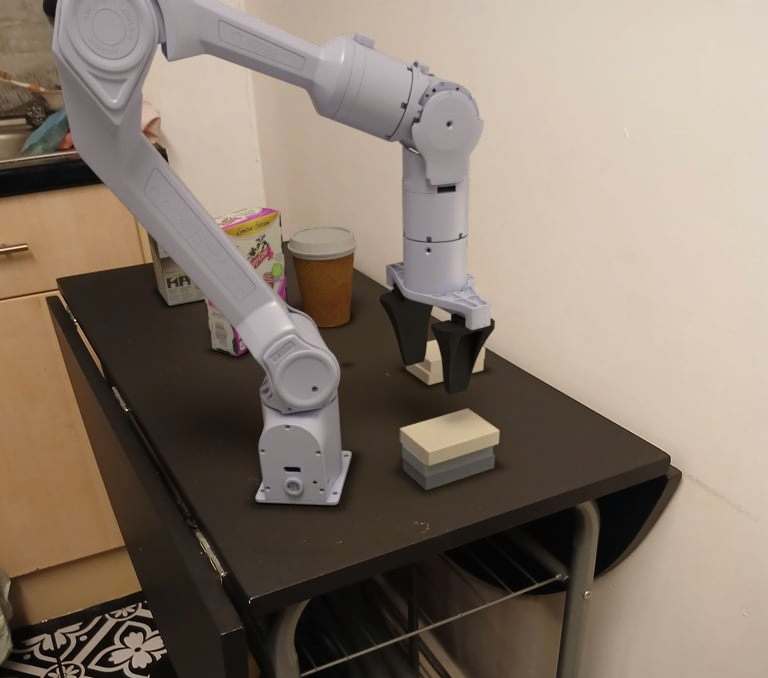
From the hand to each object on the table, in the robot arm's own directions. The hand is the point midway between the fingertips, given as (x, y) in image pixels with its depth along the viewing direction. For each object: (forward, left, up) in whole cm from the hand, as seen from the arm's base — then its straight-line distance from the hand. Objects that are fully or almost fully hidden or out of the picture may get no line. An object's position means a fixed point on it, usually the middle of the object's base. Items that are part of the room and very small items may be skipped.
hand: (434, 376), depth 77 cm
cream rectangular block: (-3, -2, -6) cm, 7 cm away
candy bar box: (+29, +26, -9) cm, 40 cm away
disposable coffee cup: (+37, +17, -9) cm, 42 cm away
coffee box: (+47, +42, -9) cm, 64 cm away
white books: (+20, 0, -9) cm, 22 cm away
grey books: (-3, -2, -9) cm, 9 cm away
